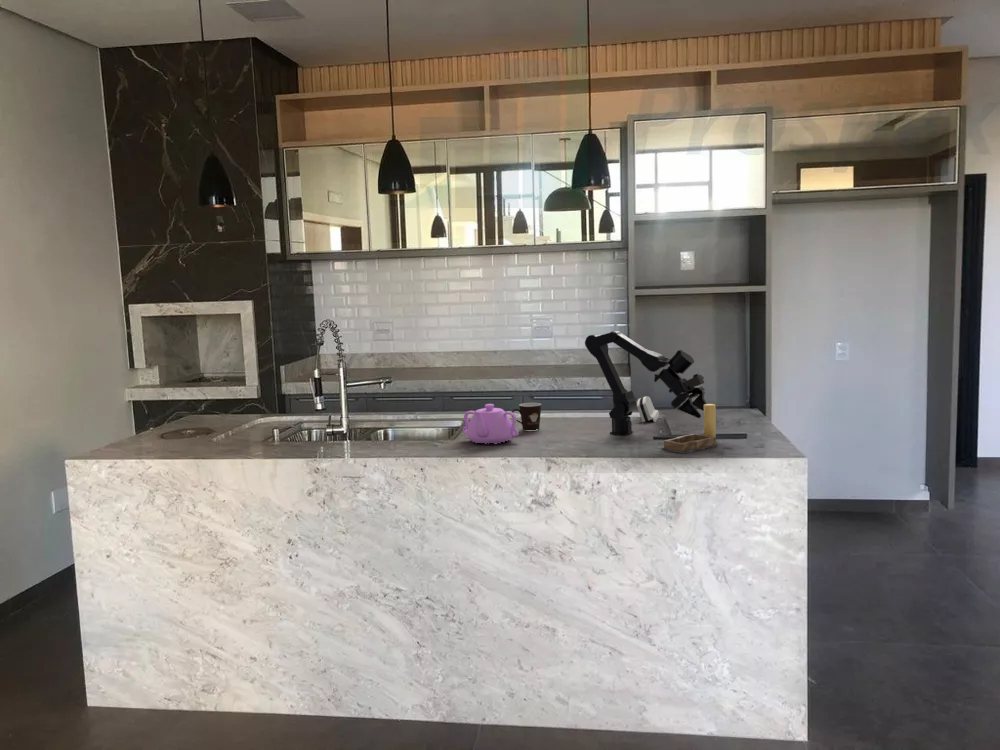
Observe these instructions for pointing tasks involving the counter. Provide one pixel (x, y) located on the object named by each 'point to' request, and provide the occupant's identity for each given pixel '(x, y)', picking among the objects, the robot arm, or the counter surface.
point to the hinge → (647, 409)
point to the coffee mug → (530, 415)
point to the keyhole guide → (689, 443)
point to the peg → (710, 420)
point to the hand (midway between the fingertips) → (704, 415)
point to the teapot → (490, 425)
